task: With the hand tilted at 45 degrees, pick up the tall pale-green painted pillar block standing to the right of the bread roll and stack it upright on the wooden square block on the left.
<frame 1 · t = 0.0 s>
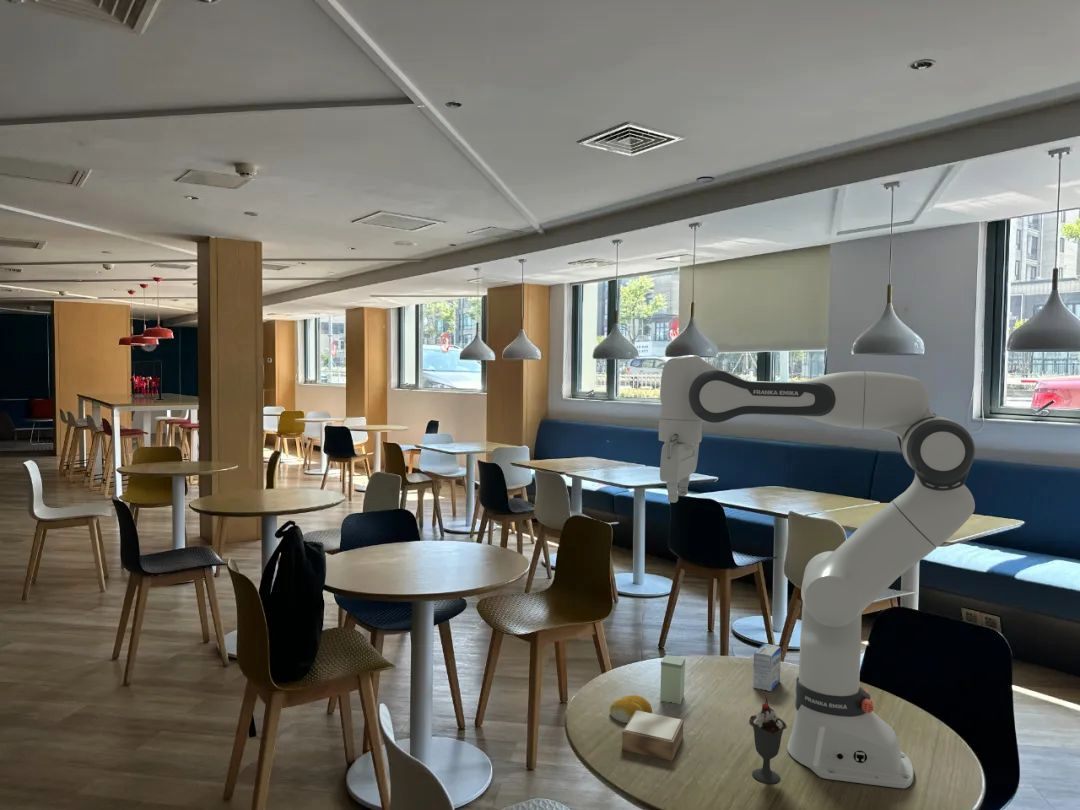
hand: (677, 498, 153), 48 cm above the table, tool pointing down, fingers open, 8 cm apart
sundae: (765, 777, 135), on the table
medicine box: (766, 685, 177), on the table
bread roll: (630, 717, 159), on the table
wooden square block: (652, 745, 147), on the table
green pillar block: (672, 698, 167), on the table
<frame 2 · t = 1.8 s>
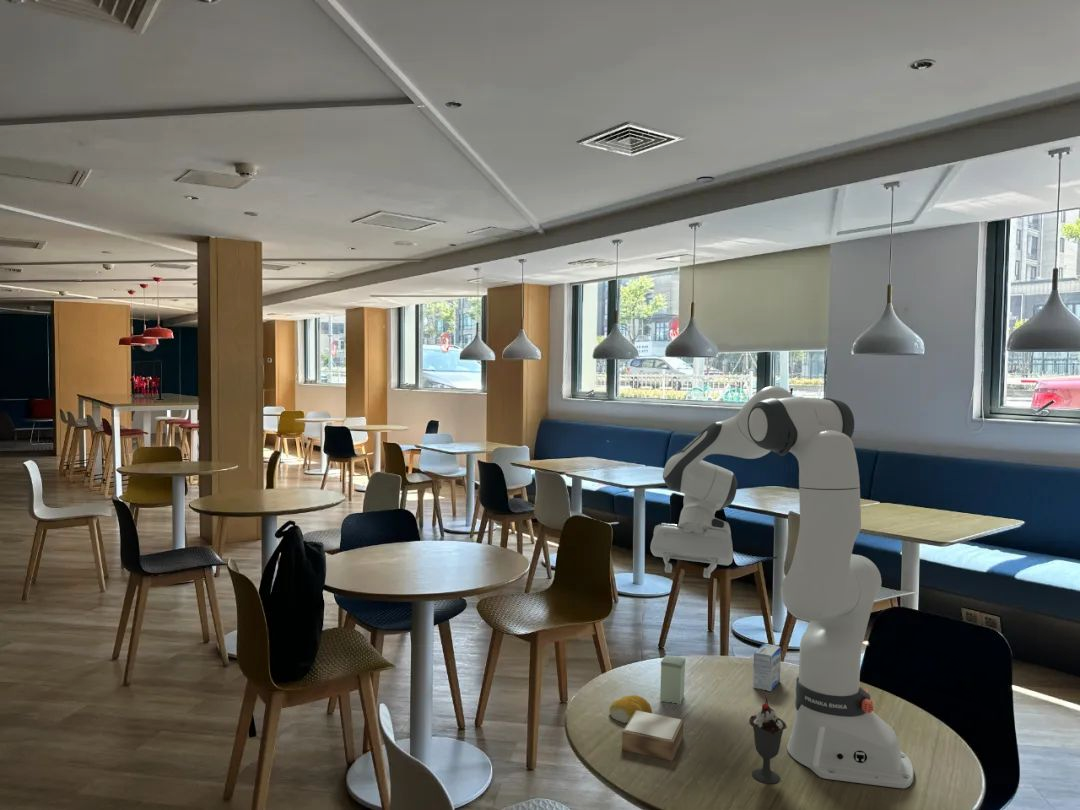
hand: (686, 573, 178), 26 cm above the table, tool tilted 45°, fingers open, 8 cm apart
nothing on the table moved.
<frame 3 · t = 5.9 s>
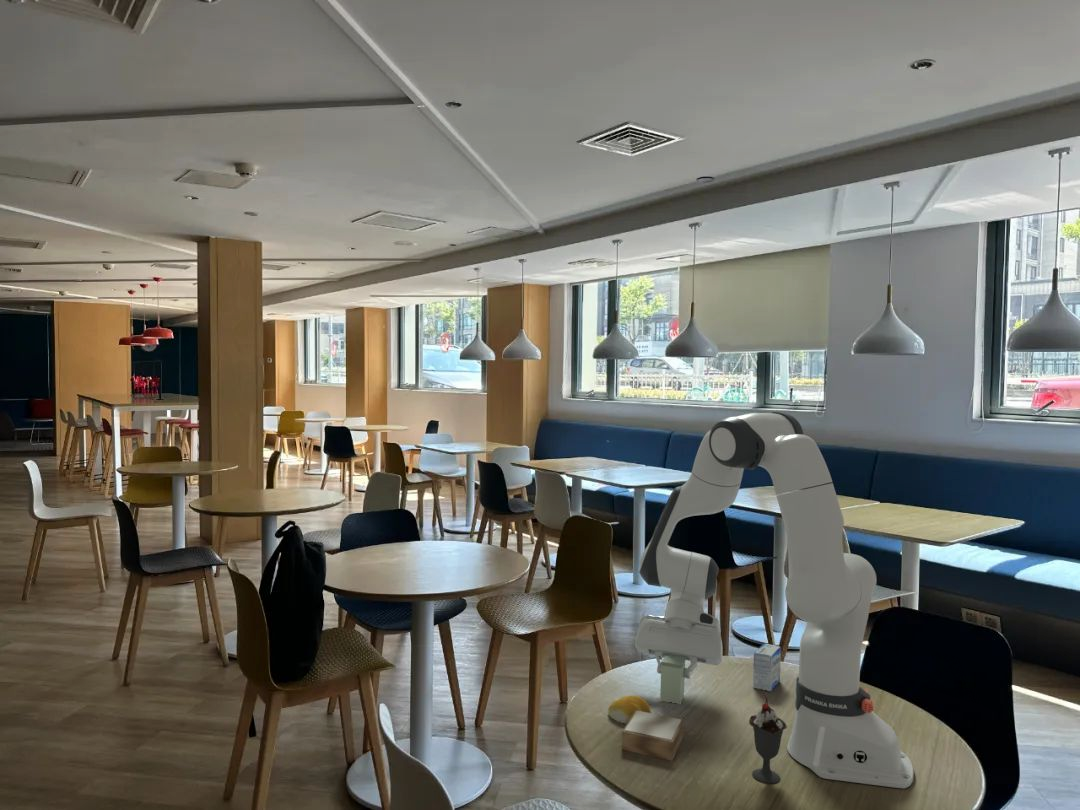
hand: (673, 675, 167), 5 cm above the table, tool tilted 45°, fingers closed on green pillar block, 4 cm apart
green pillar block: (672, 698, 167), on the table, touching gripper
everything else where it was.
when the fingers open (11 cm above the table, at t = 11.6 s): green pillar block drops 2 cm, resting on wooden square block.
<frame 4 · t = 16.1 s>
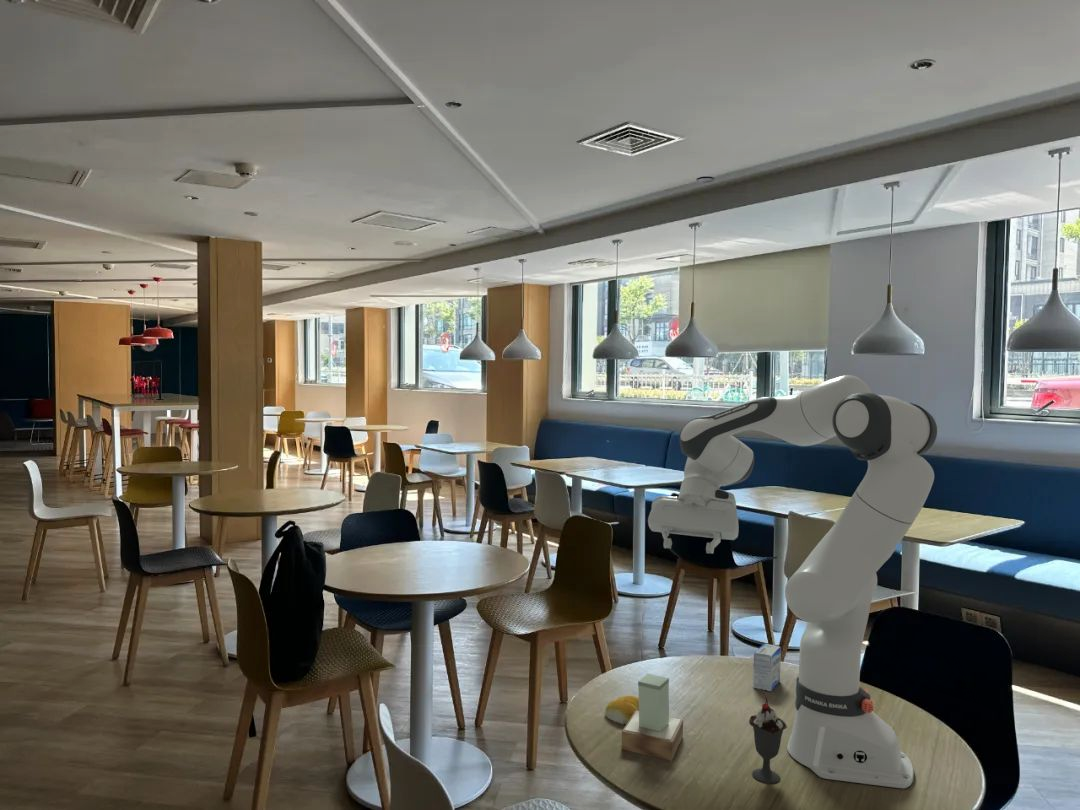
hand: (687, 549, 162), 35 cm above the table, tool tilted 45°, fingers open, 8 cm apart
wooden square block: (652, 745, 147), on the table, touching green pillar block
green pillar block: (654, 724, 146), point 4 cm above the table, touching wooden square block
at the end: green pillar block inside the target area on the wooden square block (0.4 cm from its centre), point 4.3 cm above the wooden square block's base; green pillar block tilted 3° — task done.
